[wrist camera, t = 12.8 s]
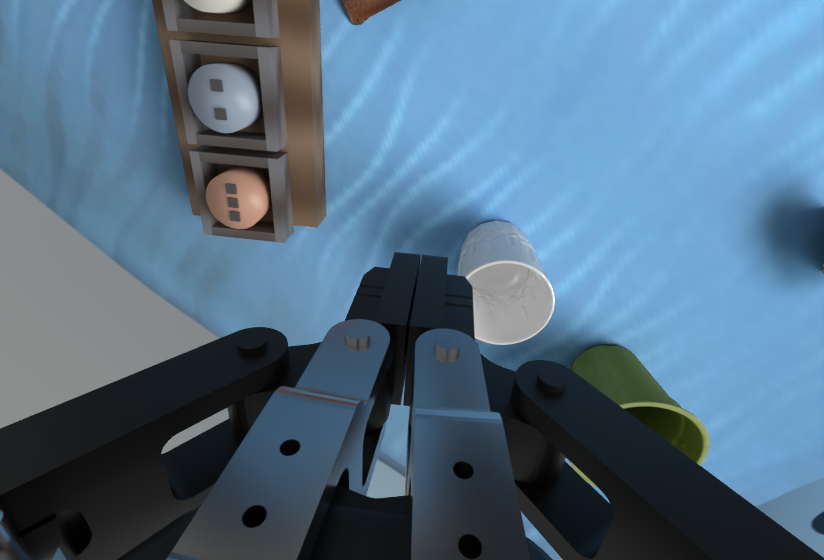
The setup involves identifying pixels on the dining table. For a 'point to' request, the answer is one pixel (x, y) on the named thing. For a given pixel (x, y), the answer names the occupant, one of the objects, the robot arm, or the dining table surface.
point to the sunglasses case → (365, 8)
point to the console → (281, 97)
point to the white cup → (505, 284)
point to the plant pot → (641, 399)
